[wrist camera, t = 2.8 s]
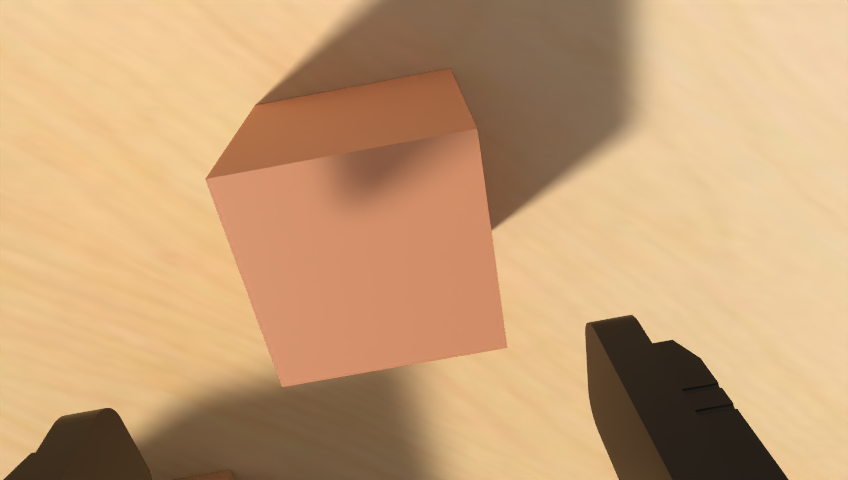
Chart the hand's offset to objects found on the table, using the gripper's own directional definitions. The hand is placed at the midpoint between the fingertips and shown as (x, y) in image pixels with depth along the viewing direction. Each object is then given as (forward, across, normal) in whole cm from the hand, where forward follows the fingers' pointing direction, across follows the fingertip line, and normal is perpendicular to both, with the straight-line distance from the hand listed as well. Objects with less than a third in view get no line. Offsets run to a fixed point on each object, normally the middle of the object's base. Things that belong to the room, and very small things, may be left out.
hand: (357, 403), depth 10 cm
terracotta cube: (+11, 0, 0) cm, 11 cm away
